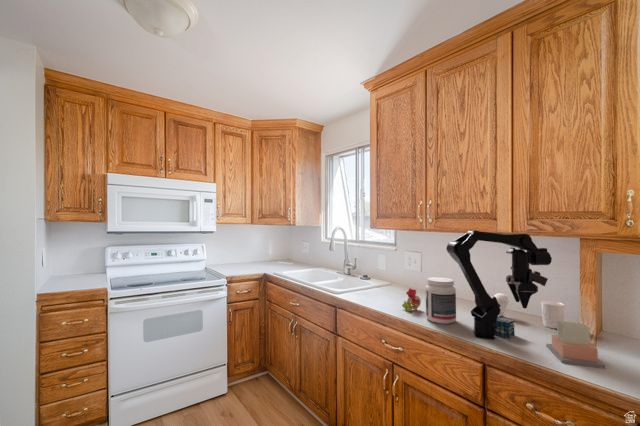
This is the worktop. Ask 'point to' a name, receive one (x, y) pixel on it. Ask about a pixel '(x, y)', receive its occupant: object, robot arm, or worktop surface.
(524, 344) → the worktop surface
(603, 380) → the worktop surface
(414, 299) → the bird rattle
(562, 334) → the sage brick
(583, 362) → the brick base
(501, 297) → the light bulb
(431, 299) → the supplement tub
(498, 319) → the puzzle
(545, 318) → the white cup
